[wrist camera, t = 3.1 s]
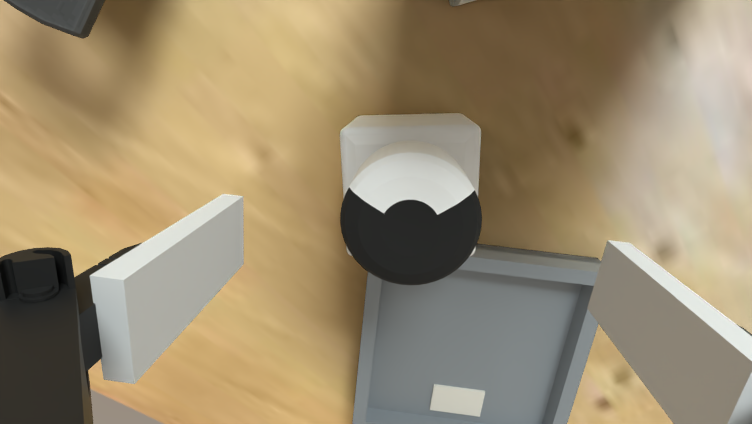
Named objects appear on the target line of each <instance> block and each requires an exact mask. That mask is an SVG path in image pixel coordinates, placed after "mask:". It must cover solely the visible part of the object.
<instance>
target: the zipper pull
mask: <svg viewBox="0 0 752 424" xmlns="http://www.w3.org/2000/svg"><path fill="white" fill-rule="evenodd" d="M4 1H6V2H7V3H8V4H10V5H11V6H13V7H14V8H16V9H17V10H19V11H21V12H22V13H24V14H26V15H28V16H29V17H31V18H33V19H35V20H36V21H38V22H40V23H42V24H44V25H47V26H49V27H52V28H55V29H57V30H60V31H63V32H65V33H68V34H71V35H73V36H76V37H80V38H86V37H88V36H89V34H90V32H91V29H92V27H93V25H94V23H95V21H96V19H97V16H98V14H99V12H100V10H101V8H102V6H103V3H104V1H105V0H4Z"/></svg>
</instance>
